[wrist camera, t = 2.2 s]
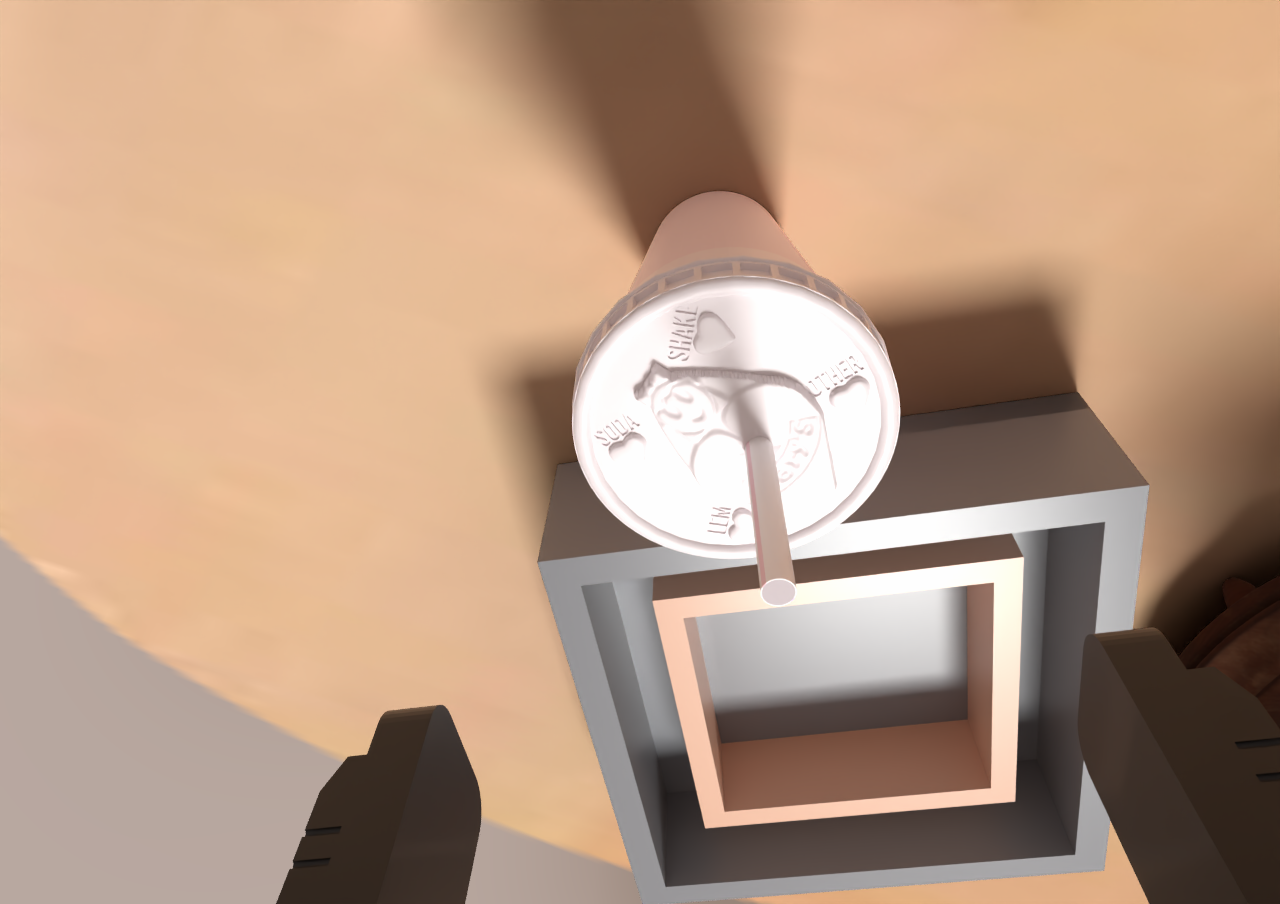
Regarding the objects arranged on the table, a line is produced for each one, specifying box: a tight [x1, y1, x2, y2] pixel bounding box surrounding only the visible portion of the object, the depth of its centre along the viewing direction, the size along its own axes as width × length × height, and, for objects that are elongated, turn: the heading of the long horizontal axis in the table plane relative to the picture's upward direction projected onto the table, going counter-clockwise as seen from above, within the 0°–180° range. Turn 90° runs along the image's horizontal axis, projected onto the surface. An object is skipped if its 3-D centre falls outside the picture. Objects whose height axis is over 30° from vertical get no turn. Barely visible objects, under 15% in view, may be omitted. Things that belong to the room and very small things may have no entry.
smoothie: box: [572, 191, 900, 606], centre depth 20 cm, size 6×6×14 cm
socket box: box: [538, 392, 1149, 904], centre depth 31 cm, size 16×16×5 cm
